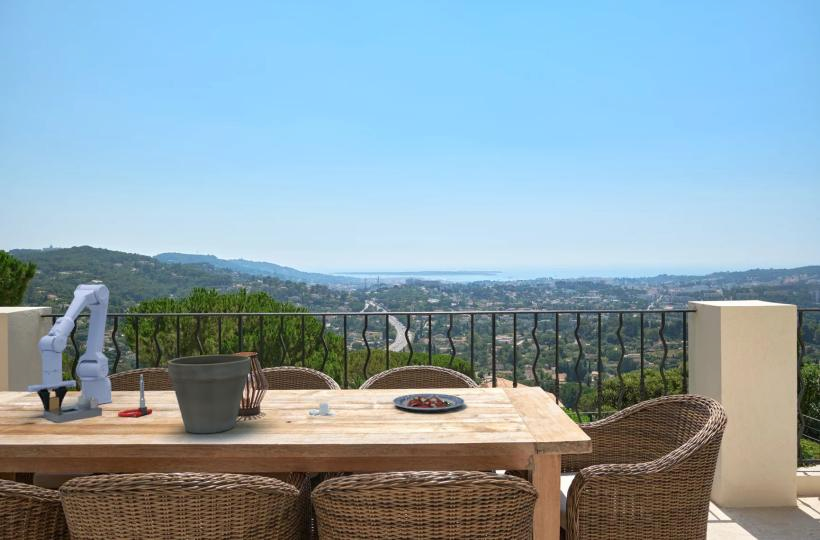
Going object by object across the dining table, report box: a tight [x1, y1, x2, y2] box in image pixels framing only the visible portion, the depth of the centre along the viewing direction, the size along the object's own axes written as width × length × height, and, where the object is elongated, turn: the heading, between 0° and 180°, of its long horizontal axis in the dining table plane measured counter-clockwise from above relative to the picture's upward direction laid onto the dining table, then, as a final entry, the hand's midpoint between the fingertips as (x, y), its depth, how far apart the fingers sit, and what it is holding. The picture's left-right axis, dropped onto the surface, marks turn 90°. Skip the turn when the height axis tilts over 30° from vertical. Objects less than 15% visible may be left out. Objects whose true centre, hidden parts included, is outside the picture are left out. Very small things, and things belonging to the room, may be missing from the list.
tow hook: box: [117, 374, 153, 418], centre depth 214 cm, size 9×14×10 cm
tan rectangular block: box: [49, 395, 59, 409], centre depth 214 cm, size 3×3×6 cm
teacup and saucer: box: [308, 402, 336, 418], centre depth 213 cm, size 9×8×4 cm
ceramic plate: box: [392, 393, 465, 412], centre depth 225 cm, size 26×26×3 cm
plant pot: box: [167, 354, 252, 434], centre depth 195 cm, size 25×25×22 cm
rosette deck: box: [42, 394, 103, 424], centre depth 211 cm, size 14×12×6 cm
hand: (52, 410), depth 214 cm, fingers closed on tan rectangular block, 3 cm apart
